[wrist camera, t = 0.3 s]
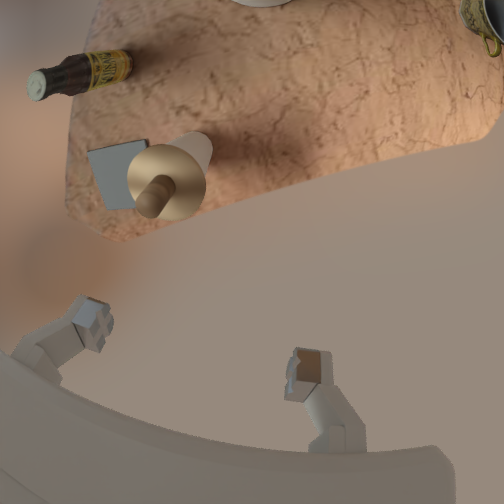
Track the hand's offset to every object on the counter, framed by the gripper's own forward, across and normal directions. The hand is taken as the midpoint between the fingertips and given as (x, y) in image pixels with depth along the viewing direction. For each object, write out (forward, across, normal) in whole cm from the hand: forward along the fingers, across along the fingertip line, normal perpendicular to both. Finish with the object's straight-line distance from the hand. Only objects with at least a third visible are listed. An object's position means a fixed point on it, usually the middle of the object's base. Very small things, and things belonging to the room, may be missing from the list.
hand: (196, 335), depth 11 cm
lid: (+26, +12, +6) cm, 29 cm away
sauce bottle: (+37, +27, -11) cm, 47 cm away
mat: (+39, +26, +12) cm, 49 cm away
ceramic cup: (+36, -29, -32) cm, 56 cm away
